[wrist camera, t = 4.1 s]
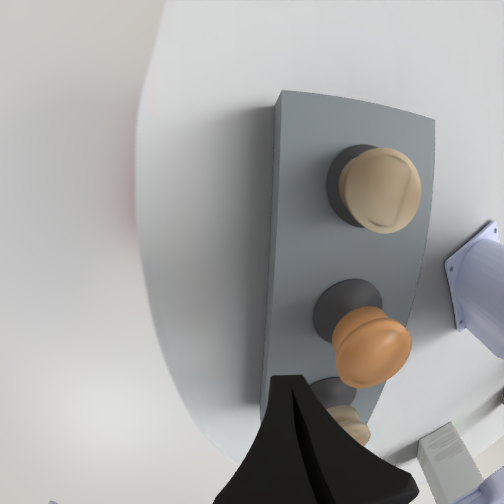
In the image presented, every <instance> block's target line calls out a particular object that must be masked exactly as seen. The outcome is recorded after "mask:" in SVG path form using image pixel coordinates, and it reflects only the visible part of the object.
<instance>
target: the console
mask: <svg viewBox="0 0 504 504" xmlns="http://www.w3.org/2000/svg"><path fill="white" fill-rule="evenodd" d="M375 148H391V149H395V150H397V151H399V152H401V153H403V154H404V155H405V156H407V157H408V158H409V159H410V160H411V162H412V163H413V164H414V166H415V168H416V170H417V172H418V174H419V178H420V182H421V200H420V204H419V207H418V210H417V212H416V214H415V216H414V217H413V219H412V220H411V221H410V222H409V223H408V224H407V225H406V226H405V227H404V228H402V229H400V230H398V231H396V232H393V233H388V234H382V233H377V232H373V231H371V230H369V229H367V228H366V227H364V226H362V225H361V224H360V223H359V222H357V221H356V220H355V218H354V217H353V216H352V214H351V213H350V211H348V210H347V208H346V207H345V206H344V204H343V203H342V201H341V198H340V195H339V189H338V183H339V177H340V174H341V172H342V170H343V168H344V167H345V165H346V164H347V163H348V162H349V161H350V160H351V159H353V158H355V157H357V156H359V155H360V154H362V153H363V152H365V151H368V150H370V149H375ZM434 163H435V120H434V119H431V118H428V117H424V116H421V115H418V114H414V113H411V112H407V111H403V110H400V109H396V108H392V107H388V106H383V105H379V104H374V103H370V102H365V101H360V100H354V99H349V98H343V97H337V96H330V95H323V94H315V93H307V92H297V91H285V90H282V91H281V93H280V95H279V98H278V100H277V102H276V104H275V122H274V155H273V183H272V208H271V230H270V251H269V270H268V289H267V306H266V323H265V339H264V354H263V368H262V382H261V396H260V418H261V423H262V421H263V418H264V415H265V412H266V408H267V404H268V394H269V385H270V377H271V376H273V375H303V376H304V377H305V379H306V381H307V383H308V384H309V386H310V387H311V389H312V390H313V392H314V393H315V395H316V396H317V398H318V399H319V401H320V402H321V403H322V404H323V406H324V407H325V408H326V409H328V408H331V407H334V406H339V405H349V406H352V407H354V408H355V409H356V410H357V412H358V415H359V417H360V420H361V422H364V423H365V424H366V425H367V423H368V420H369V418H370V416H371V414H372V412H373V410H374V408H375V406H376V404H377V401H378V399H379V397H380V395H381V392H382V390H383V388H384V385H385V383H386V381H384V382H383V383H380V384H378V385H376V386H372V387H368V388H354V387H350V386H348V385H346V384H345V383H343V381H342V380H341V379H340V377H339V375H338V372H337V369H336V367H335V356H336V353H335V350H334V348H333V345H332V335H333V332H334V329H335V327H336V326H337V324H338V323H339V321H340V320H341V319H342V318H343V317H344V316H345V315H347V314H348V313H350V312H351V311H353V310H355V309H358V308H361V307H366V306H373V307H377V308H379V309H381V310H383V311H384V312H385V313H386V315H387V316H388V317H389V318H392V319H395V320H397V321H399V322H400V323H401V324H402V325H403V326H404V327H406V324H407V321H408V317H409V314H410V310H411V307H412V303H413V299H414V296H415V292H416V288H417V283H418V279H419V275H420V270H421V265H422V261H423V255H424V250H425V245H426V239H427V232H428V226H429V219H430V211H431V202H432V192H433V180H434Z"/></svg>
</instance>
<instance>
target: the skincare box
mask: <svg viewBox="0 0 504 504" xmlns="http://www.w3.org/2000/svg"><path fill="white" fill-rule="evenodd" d="M417 459H418V461H419V463H420V465H421V468H422V470H423V472H424V475H425V477H426V479H427V482H428V484H429V486H430V489H431V491H432V494H433V496H434V499H435V501H436V504H448V503H450V502H452V501H454V500H456V499H458V498H459V497H461V496H463V495H465V494H466V493H468V492H470V491H471V490H473V489H475V488H476V487H478V486H479V485H480V484H481V483H482V482H483V481H484V479H483V477H482V475H481V473H480V471H479V469H478V468H477V466H476V464H475V462H474V460H473V458H472V457H471V455H470V453H469V451H468V450H467V448H466V446H465V444H464V443H463V441H462V439H461V437H460V436H459V434H458V432H457V431H456V429H455V427H454V426H453V424H452V423H451V422H449V423H448V424H446V425H444V426H443V427H441V428H439V429H438V430H436V431H434V432H432V433H431V434H429V435H427V436H425V437H423V438H421V439H420V440H419V446H418V453H417Z"/></svg>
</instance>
